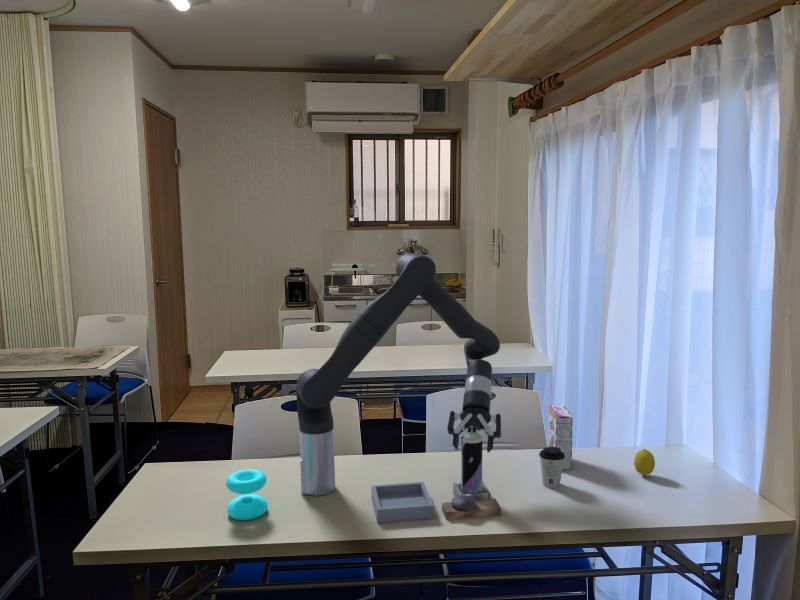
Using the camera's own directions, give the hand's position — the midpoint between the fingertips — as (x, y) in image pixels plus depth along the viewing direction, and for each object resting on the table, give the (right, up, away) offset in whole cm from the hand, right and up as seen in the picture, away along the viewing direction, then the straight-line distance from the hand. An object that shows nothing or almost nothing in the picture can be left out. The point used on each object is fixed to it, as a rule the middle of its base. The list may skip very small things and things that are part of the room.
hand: (472, 449), depth 166 cm
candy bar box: (+29, -10, +23) cm, 38 cm away
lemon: (+50, -11, +13) cm, 53 cm away
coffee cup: (+23, -12, +8) cm, 27 cm away
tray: (-19, -14, -4) cm, 24 cm away
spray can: (0, -13, 0) cm, 13 cm away
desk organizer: (-2, -14, -3) cm, 14 cm away
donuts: (-58, -15, -6) cm, 60 cm away
